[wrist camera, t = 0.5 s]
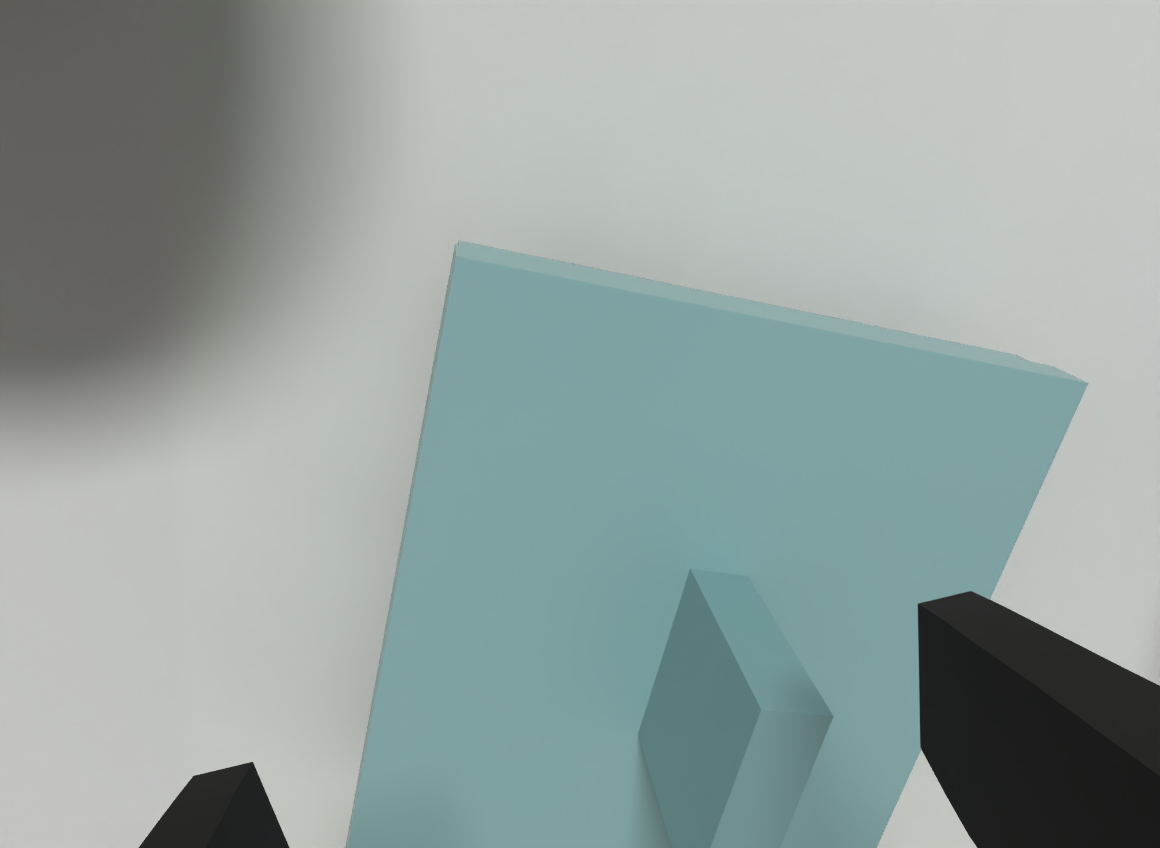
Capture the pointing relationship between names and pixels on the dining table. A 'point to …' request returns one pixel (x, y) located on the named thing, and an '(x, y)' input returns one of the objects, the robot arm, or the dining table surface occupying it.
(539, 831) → the lid
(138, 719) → the dining table surface
